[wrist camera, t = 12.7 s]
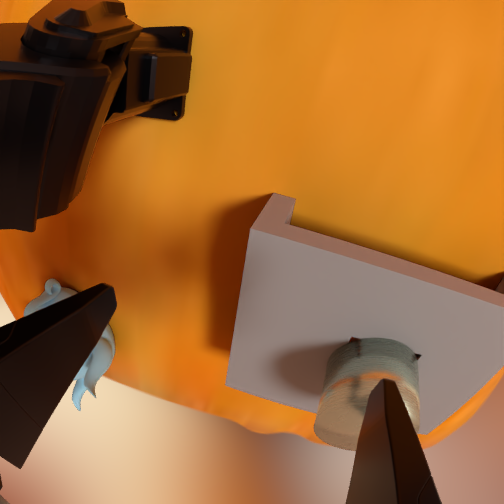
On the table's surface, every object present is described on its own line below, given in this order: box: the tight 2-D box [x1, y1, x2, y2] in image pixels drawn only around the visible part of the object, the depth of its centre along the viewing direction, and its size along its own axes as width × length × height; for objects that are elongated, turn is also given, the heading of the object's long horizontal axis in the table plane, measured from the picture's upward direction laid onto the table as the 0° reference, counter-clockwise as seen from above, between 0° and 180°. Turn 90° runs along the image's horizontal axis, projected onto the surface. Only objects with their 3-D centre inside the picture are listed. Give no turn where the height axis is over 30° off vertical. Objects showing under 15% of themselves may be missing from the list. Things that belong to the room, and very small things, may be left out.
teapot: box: [24, 278, 115, 411], centre depth 34 cm, size 15×15×10 cm
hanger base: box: [225, 193, 504, 435], centre depth 21 cm, size 20×16×5 cm
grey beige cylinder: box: [314, 337, 420, 451], centre depth 19 cm, size 6×6×9 cm
